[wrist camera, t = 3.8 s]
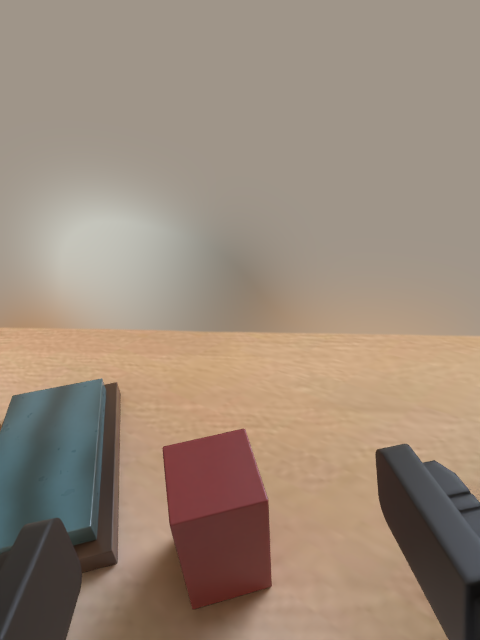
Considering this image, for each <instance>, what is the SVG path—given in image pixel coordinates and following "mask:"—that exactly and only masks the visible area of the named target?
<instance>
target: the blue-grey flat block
mask: <svg viewBox="0 0 480 640" xmlns="http://www.w3.org/2000/svg"><path fill="white" fill-rule="evenodd" d="M120 396H121V394H120V390H119V387H118V384H117V382H116V383H111V384H106V385H104V382H103V379H97V380H92V381H86V382H81V383H76V384H71V385H66V386H60V387H55V388H50V389H45V390H40V391H34V392H29V393H24V394H19V395H14V396H12V399H11V402H10V404H9V407H8V410H7V413H6V416H5V419H4V422H3V425H2V428H1V430H0V555H1V554H2V553H3V552H7V551H10V550H11V548H12V546H13V544H14V542H15V540H16V538H17V536H18V534H19V532H20V530H21V529H22V527H23V526H24V525H26V524H29V523H33V522H38V521H43V520H48V519H53V518H60V519H61V520H62V522H63V524H64V526H65V528H66V530H67V533H68V535H69V537H70V540H71V542H72V544H73V546H74V549H75V551H76V553H77V555H78V558H79V560H80V563H81V570H82V573H83V572H87V571H90V570H94V569H98V568H102V567H106V566H109V565H113V564H117V560H118V505H119V451H120Z"/></svg>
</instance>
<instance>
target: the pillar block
mask: <svg viewBox="0 0 480 640" xmlns="http://www.w3.org/2000/svg"><path fill="white" fill-rule="evenodd" d="M163 459H164V469H165V480H166V491H167V501H168V512H169V523H170V528H171V532H172V535H173V539H174V543H175V546H176V550H177V554H178V558H179V561H180V565H181V569H182V572H183V576H184V580H185V583H186V587H187V591H188V594H189V598H190V602H191V606H192V609H196V608H200V607H203V606H207V605H210V604H214V603H217V602H220V601H224V600H227V599H231V598H234V597H238V596H241V595H244V594H248V593H251V592H255V591H258V590H262V589H265V588H268V587H271V586H272V583H271V557H270V531H269V505H268V497H267V494H266V491H265V488H264V485H263V482H262V479H261V476H260V473H259V470H258V467H257V464H256V461H255V458H254V455H253V452H252V448H251V445H250V442H249V439H248V436H247V433H246V430H245V429H240V430H235V431H231V432H226V433H222V434H218V435H213V436H209V437H204V438H200V439H195V440H191V441H186V442H182V443H177V444H173V445H168V446H164V447H163Z"/></svg>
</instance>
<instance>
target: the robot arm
mask: <svg viewBox="0 0 480 640" xmlns="http://www.w3.org/2000/svg"><path fill="white" fill-rule="evenodd" d="M376 468H377V482H378V495H379V501H380V505H381V509H382V512H383V515H384V517H385V520H386V522H387V524H388V526H389V528H390V530H391V532H392V533H393V535H394V537H395V539H396V541H397V543H398V545H399V547H400V549H401V550H402V552H403V554H404V556H405V558H406V560H407V562H408V564H409V566H410V567H411V569H412V571H413V573H414V575H415V577H416V579H417V581H418V583H419V585H420V586H421V588H422V590H423V592H424V594H425V596H426V598H427V600H428V602H429V603H430V605H431V607H432V609H433V611H434V613H435V615H436V617H437V619H438V620H439V622H440V624H441V626H442V628H443V630H444V632H445V634H446V636H447V637H448V639H449V640H480V502H479V501H478V500H477V499H476V498H475V496H474V495H473V494H472V495H471V493H470V491H469V489H468V488H467V487H466V486H465V485H464V483H463V482H462V481H461V480H460V479H459V477H458V476H457V475H456V474H455V473H454V472H452V471H451V470H449V469H447V468H446V467H444V466H443V465H441V464H439V463H438V462H436V461H435V460H434V461H429V462H424V463H422V462H421V460H420V459H419V458H418V456H417V455H416V454H415V452H414V451H413V450H412V449H411V447H410V446H409V445H407V444H401V445H397V446H392V447H387V448H382V449H378V450H376ZM81 581H82V570H81V563H80V560H79V558H78V555H77V553H76V551H75V549H74V546H73V544H72V542H71V540H70V537H69V535H68V533H67V530H66V528H65V526H64V524H63V522H62V520H61V519H60V518H53V519H48V520H43V521H38V522H33V523H29V524H26V525H24V526H23V527H22V529H21V530H20V532H19V534H18V536H17V538H16V540H15V542H14V544H13V546H12V548H11V550H10V551H7V552H3V553H2V554H1V555H0V640H66V637H67V633H68V630H69V627H70V623H71V620H72V616H73V613H74V609H75V606H76V602H77V599H78V595H79V592H80V588H81Z"/></svg>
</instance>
